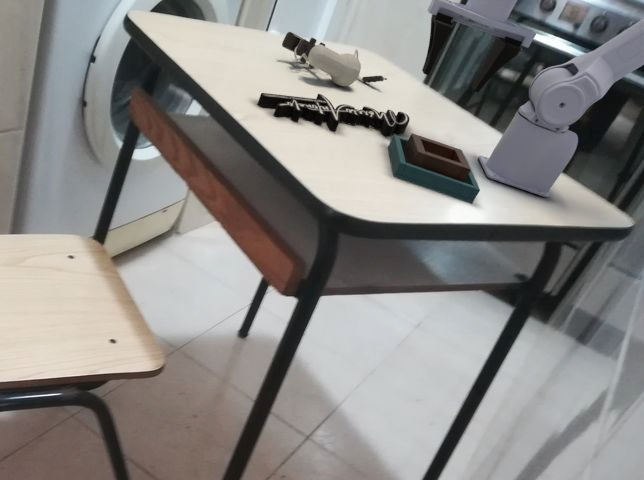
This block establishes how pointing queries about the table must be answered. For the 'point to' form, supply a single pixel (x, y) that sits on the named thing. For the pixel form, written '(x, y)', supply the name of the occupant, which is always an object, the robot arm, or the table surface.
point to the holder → (429, 175)
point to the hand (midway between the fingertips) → (450, 81)
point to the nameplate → (333, 113)
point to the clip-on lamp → (327, 60)
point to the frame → (436, 157)
